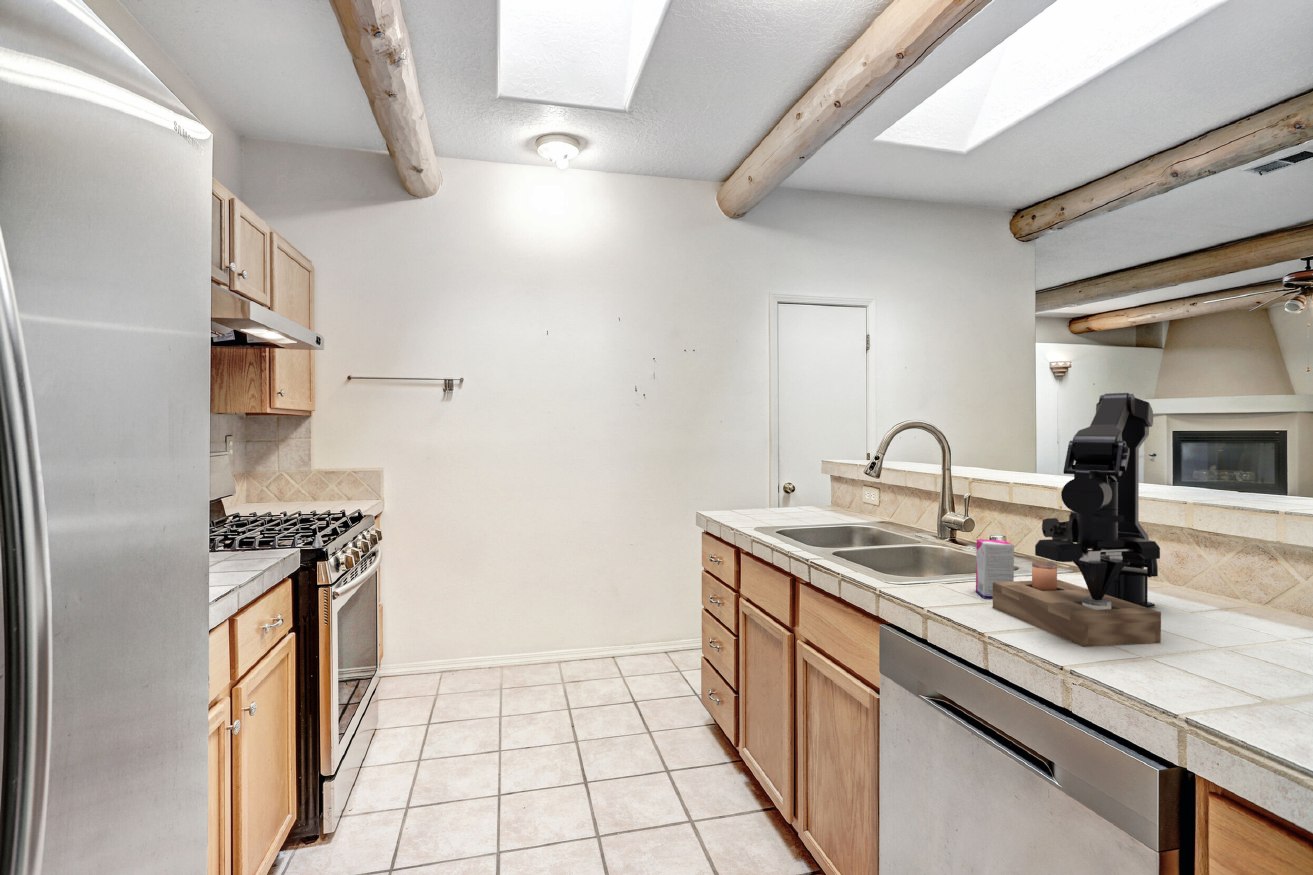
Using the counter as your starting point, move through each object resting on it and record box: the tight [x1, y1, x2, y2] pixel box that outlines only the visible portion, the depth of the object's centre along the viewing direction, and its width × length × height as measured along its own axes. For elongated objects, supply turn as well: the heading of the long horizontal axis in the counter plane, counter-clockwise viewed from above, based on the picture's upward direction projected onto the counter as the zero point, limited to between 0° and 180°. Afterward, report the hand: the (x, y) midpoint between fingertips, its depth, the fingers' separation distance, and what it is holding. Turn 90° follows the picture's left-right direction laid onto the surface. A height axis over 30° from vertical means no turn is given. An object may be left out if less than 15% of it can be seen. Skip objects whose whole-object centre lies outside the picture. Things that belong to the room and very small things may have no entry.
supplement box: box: [975, 538, 1015, 600], centre depth 130 cm, size 6×6×12 cm
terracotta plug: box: [1031, 560, 1058, 591], centre depth 117 cm, size 4×4×6 cm
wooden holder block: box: [992, 579, 1162, 648], centre depth 111 cm, size 14×22×5 cm, turn 7°
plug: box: [1082, 596, 1111, 610], centre depth 105 cm, size 4×4×6 cm
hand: (1096, 599), depth 105 cm, fingers closed, pressing on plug
